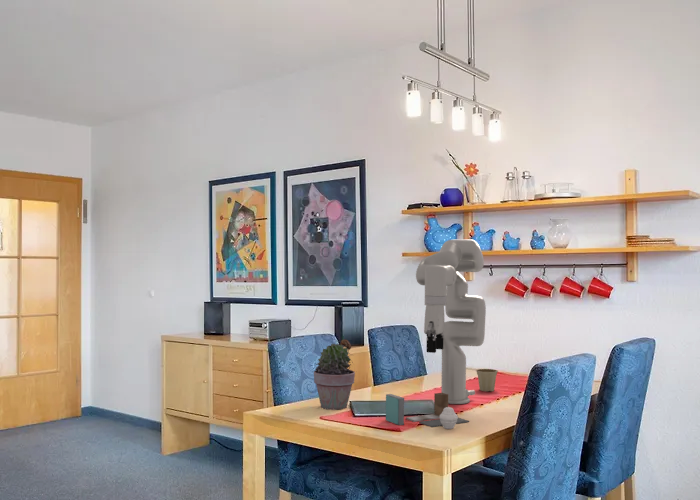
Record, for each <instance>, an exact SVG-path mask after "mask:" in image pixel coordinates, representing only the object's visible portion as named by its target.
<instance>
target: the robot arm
mask: <svg viewBox="0 0 700 500" xmlns="http://www.w3.org/2000/svg"><path fill="white" fill-rule="evenodd" d="M484 259H485V258H484V255H483V252H482V249H481V247H480V245H479V244H478V242H477V241H476V240H474V239H448V240H446V241H444V243H443V244H442V246H441V248H440V250H439V251H438V252H435V253H434V254H431V255H428V256H426V257H424V258H423V259H421V260H420V261H419V264H418V266H417V268H416V271H415V279H416V283H418V284H419V285H421V286H424V306H425V310H424V326H423V332H424V334H425V335H426V353H432V354H435V353H437V350H441V392H440V393H445V394H448V405H464V404H468V403H470V402H471V401H470V400H471V399H470V398H469V396H474V395H476V390H475V389H471V390H469V389H466V387H467V386H466V385H467V382H466V381H467V357H466V354H465V352H464V350H463V349H462V348H461V347H481V346H482V345H483V343H484V342H485V334H486V333H485V332H486V317H487V316H486V314H487V313H486V312H487V311H486V309H487V308H486V306H487V305H486V301H485V299H484V298H483V297H482V296H480V295H470V294H469V295H468V291H469V284H468V282H467V280H466V279H465V277H464V276H463V275H462V274H461V273H479V272H481V271H482V269H483V268H484V264H485V260H484ZM445 315H446V317H448V318H450V319H454V320H448V321H445ZM463 320H472V321H463Z"/></svg>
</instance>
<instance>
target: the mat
mask: <svg viewBox="0 0 700 500" xmlns="http://www.w3.org/2000/svg"><path fill="white" fill-rule="evenodd" d="M469 422H470V420H467V419H465V418H461V417H458V419H457V422H456V424H455V425H458V424H463V423H464V424H465V423H469ZM418 423H419V424H421V425H424V426H427V427H431V428H435V427H443V425H442V423H441V421H440V418H439V419H431V420H424V421H418Z"/></svg>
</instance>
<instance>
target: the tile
mask: <svg viewBox="0 0 700 500" xmlns="http://www.w3.org/2000/svg"><path fill="white" fill-rule="evenodd" d="M385 421H386V422H389V423H392V424H394V425H398V426H404V425H405V397H402V396H399V395H396V394H393V393H389V394H388V393H386V394H385Z"/></svg>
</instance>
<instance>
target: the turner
mask: <svg viewBox="0 0 700 500" xmlns="http://www.w3.org/2000/svg"><path fill="white" fill-rule="evenodd" d="M433 398H434V402H433V403H434V410H433V412H434V413H431V414H424V415H415V416H408V417H405V420H407V421H410V422H412V423H415V422H421V421H428V420H436V419H440V418H439V416H440V414H441V413H442V412H443V409H444V408H446V407H449V404H448V394H445V393H441V392H437V393H434V397H433Z"/></svg>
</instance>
